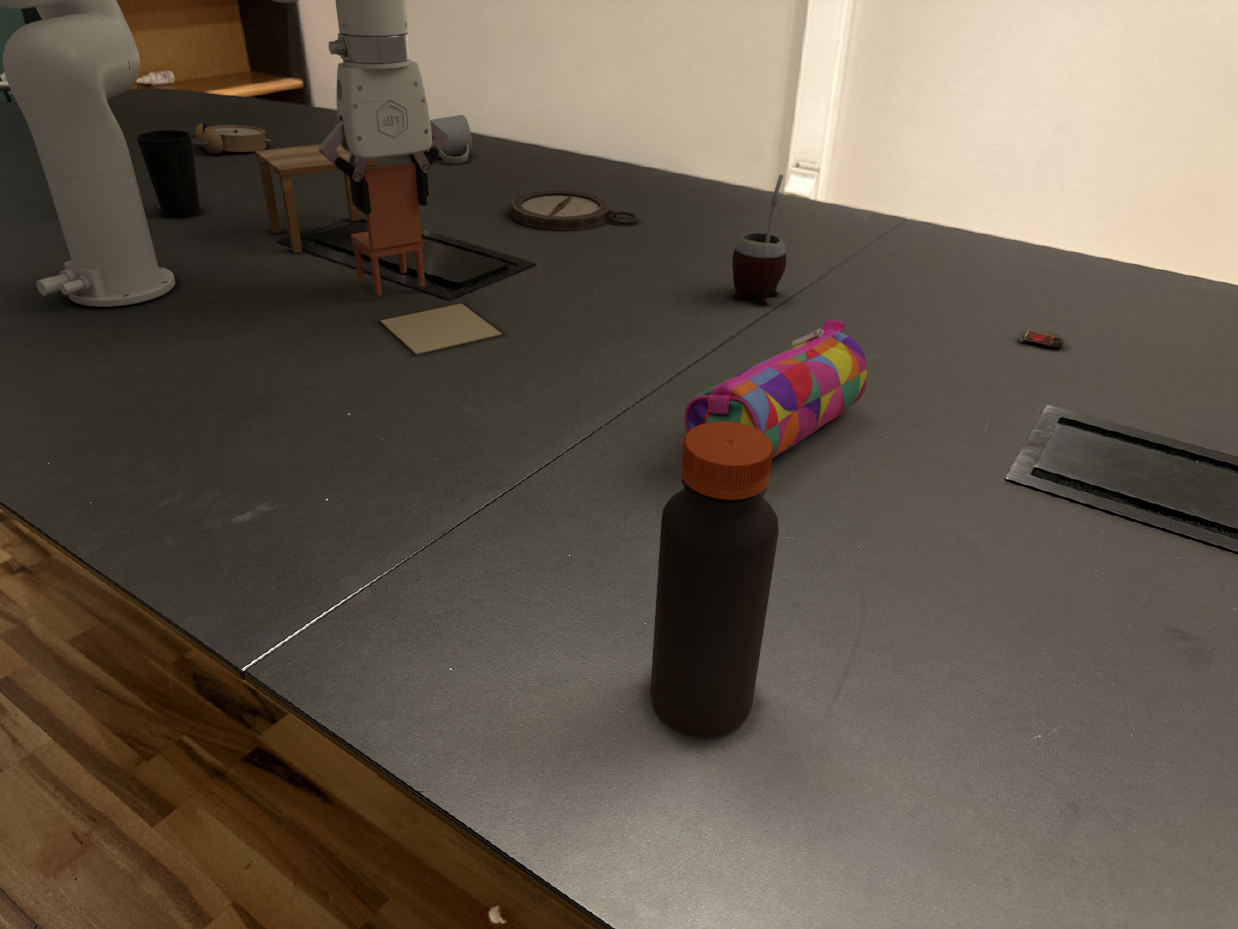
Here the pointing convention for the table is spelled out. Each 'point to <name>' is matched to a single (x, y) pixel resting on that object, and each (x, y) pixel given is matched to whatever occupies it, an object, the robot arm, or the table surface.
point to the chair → (390, 220)
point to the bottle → (713, 581)
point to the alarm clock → (229, 138)
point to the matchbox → (1043, 338)
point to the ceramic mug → (455, 138)
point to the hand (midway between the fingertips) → (392, 205)
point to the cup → (171, 171)
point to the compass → (564, 210)
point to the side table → (285, 166)
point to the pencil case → (789, 389)
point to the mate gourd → (759, 261)
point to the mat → (439, 328)
